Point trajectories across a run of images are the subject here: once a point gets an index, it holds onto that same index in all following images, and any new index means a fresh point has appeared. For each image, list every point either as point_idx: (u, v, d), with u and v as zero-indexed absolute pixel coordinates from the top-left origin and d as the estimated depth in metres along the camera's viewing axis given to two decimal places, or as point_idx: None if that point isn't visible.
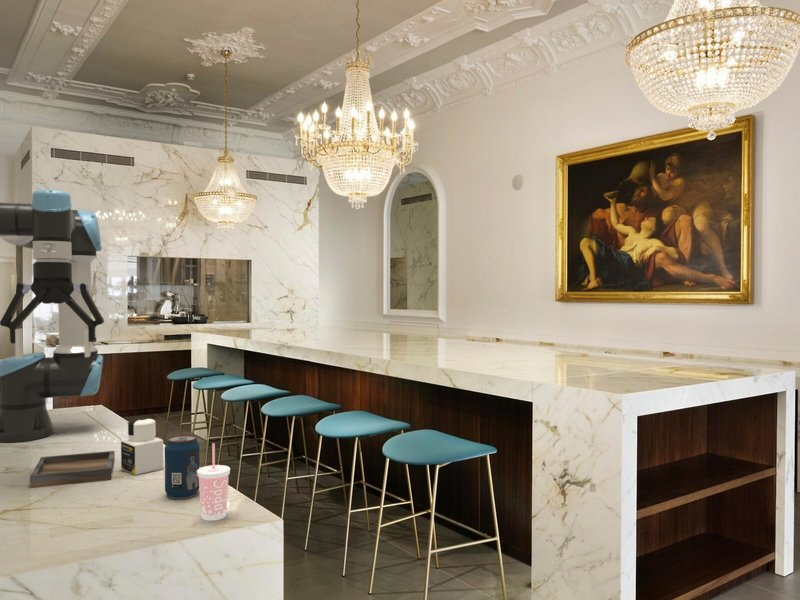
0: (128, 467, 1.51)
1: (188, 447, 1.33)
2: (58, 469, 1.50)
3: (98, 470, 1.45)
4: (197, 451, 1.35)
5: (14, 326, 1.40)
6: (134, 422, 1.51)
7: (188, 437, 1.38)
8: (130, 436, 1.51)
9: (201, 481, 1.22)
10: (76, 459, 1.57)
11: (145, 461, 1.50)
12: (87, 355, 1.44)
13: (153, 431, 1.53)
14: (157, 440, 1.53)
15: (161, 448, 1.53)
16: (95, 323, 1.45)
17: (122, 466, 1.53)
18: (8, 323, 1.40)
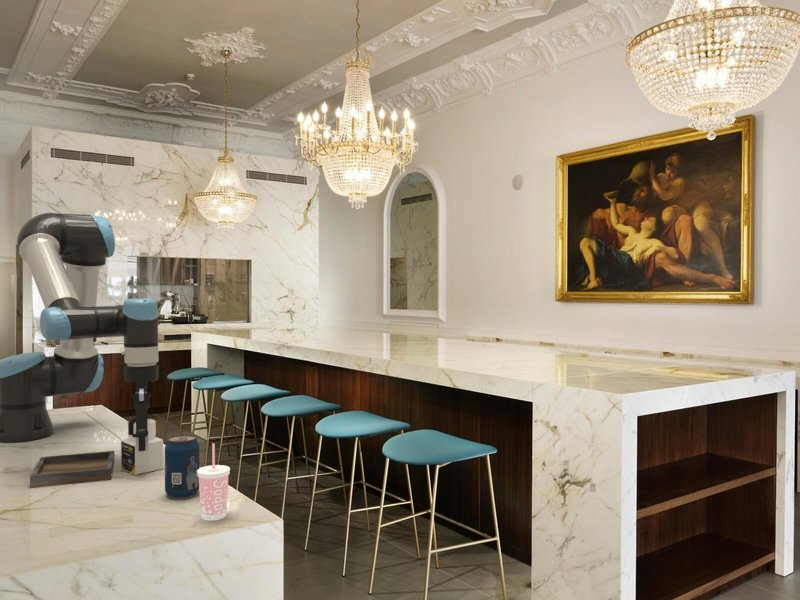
0: (128, 467, 1.51)
1: (188, 447, 1.33)
2: (58, 469, 1.50)
3: (98, 470, 1.45)
4: (197, 451, 1.35)
5: None
6: (134, 422, 1.51)
7: (188, 437, 1.38)
8: (130, 436, 1.51)
9: (201, 481, 1.22)
10: (76, 459, 1.57)
11: None
12: (136, 463, 1.48)
13: (153, 431, 1.53)
14: (157, 440, 1.53)
15: (161, 448, 1.53)
16: None
17: (122, 466, 1.53)
18: None
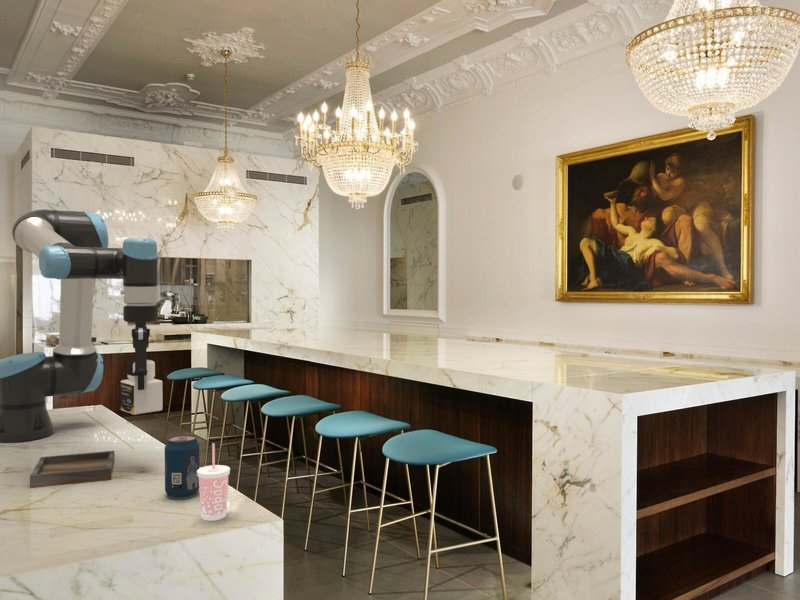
0: (127, 407, 1.50)
1: (188, 447, 1.33)
2: (58, 469, 1.50)
3: (98, 470, 1.45)
4: (197, 451, 1.35)
5: None
6: (133, 362, 1.51)
7: (188, 437, 1.38)
8: (129, 376, 1.51)
9: (201, 481, 1.22)
10: (76, 459, 1.57)
11: None
12: (135, 402, 1.48)
13: (152, 372, 1.52)
14: (156, 381, 1.52)
15: (160, 389, 1.53)
16: None
17: (121, 406, 1.53)
18: None
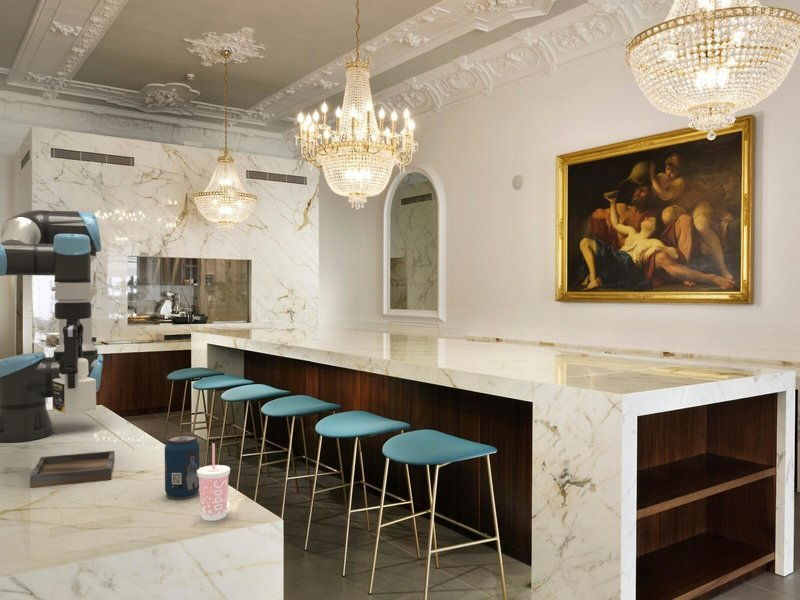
0: (58, 406, 1.47)
1: (188, 447, 1.33)
2: (58, 469, 1.50)
3: (98, 470, 1.45)
4: (197, 451, 1.35)
5: None
6: None
7: (188, 437, 1.38)
8: (61, 374, 1.47)
9: (201, 481, 1.22)
10: (76, 459, 1.57)
11: None
12: (65, 401, 1.44)
13: (85, 370, 1.49)
14: (89, 379, 1.49)
15: (93, 388, 1.49)
16: (67, 371, 1.43)
17: (53, 406, 1.49)
18: None
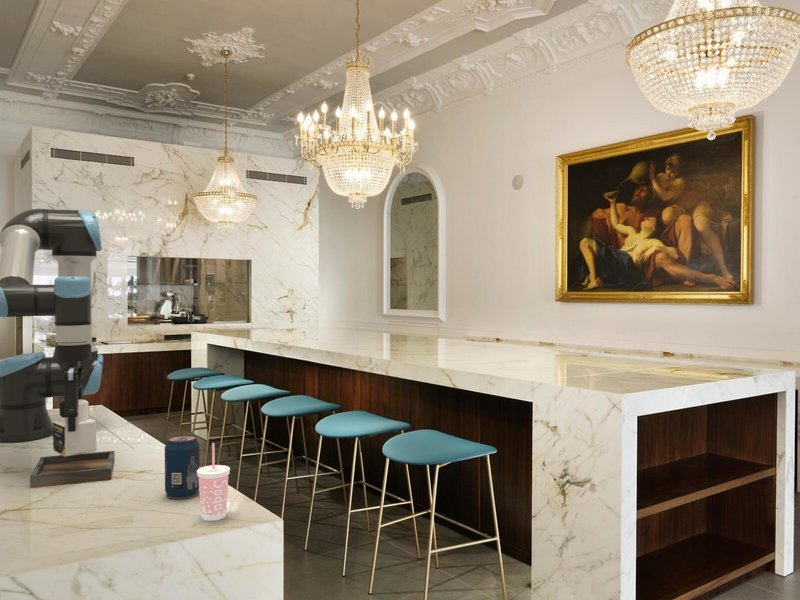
0: (59, 448, 1.47)
1: (188, 447, 1.33)
2: (58, 469, 1.50)
3: (98, 470, 1.45)
4: (197, 451, 1.35)
5: None
6: None
7: (188, 437, 1.38)
8: (61, 417, 1.47)
9: (201, 481, 1.22)
10: (76, 459, 1.57)
11: None
12: (65, 444, 1.45)
13: (85, 412, 1.49)
14: (89, 421, 1.49)
15: (94, 429, 1.50)
16: None
17: (54, 447, 1.49)
18: None
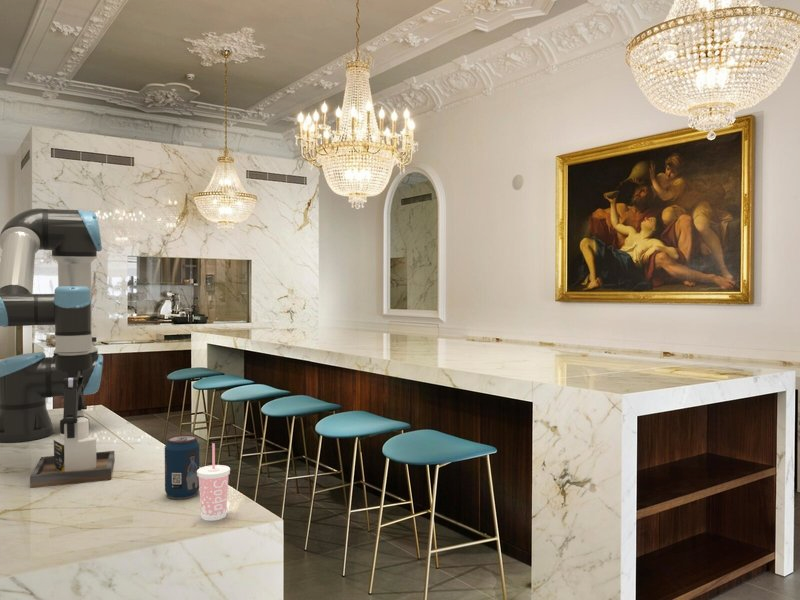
0: (59, 466, 1.47)
1: (188, 447, 1.33)
2: None
3: (98, 470, 1.45)
4: (197, 451, 1.35)
5: None
6: None
7: (188, 437, 1.38)
8: (61, 434, 1.48)
9: (201, 481, 1.21)
10: None
11: (76, 460, 1.47)
12: None
13: (85, 430, 1.49)
14: (89, 439, 1.49)
15: (94, 447, 1.50)
16: None
17: (54, 465, 1.50)
18: None
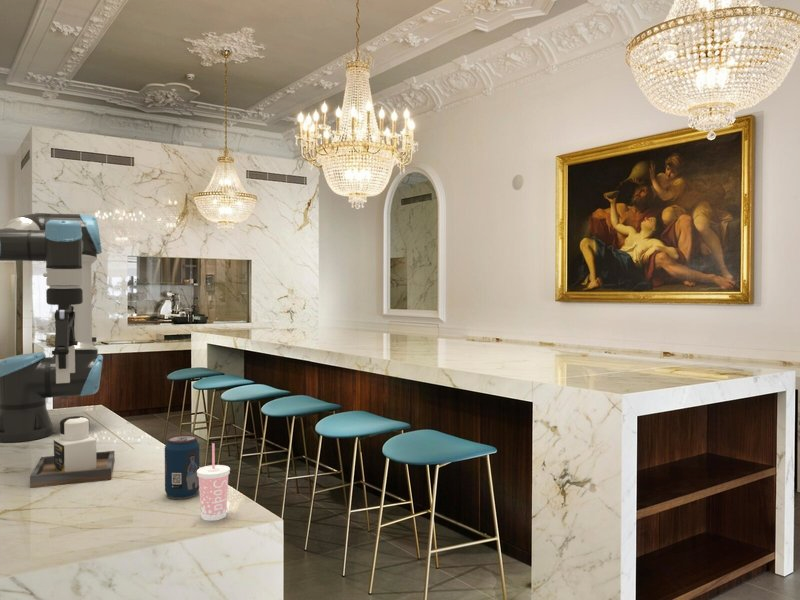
0: (59, 466, 1.47)
1: (188, 447, 1.33)
2: None
3: (98, 470, 1.45)
4: (197, 451, 1.35)
5: None
6: (65, 421, 1.48)
7: (188, 437, 1.38)
8: (61, 435, 1.48)
9: (201, 481, 1.22)
10: None
11: (76, 461, 1.47)
12: (56, 381, 1.45)
13: (85, 430, 1.49)
14: (89, 439, 1.49)
15: (94, 447, 1.50)
16: None
17: (54, 465, 1.50)
18: None
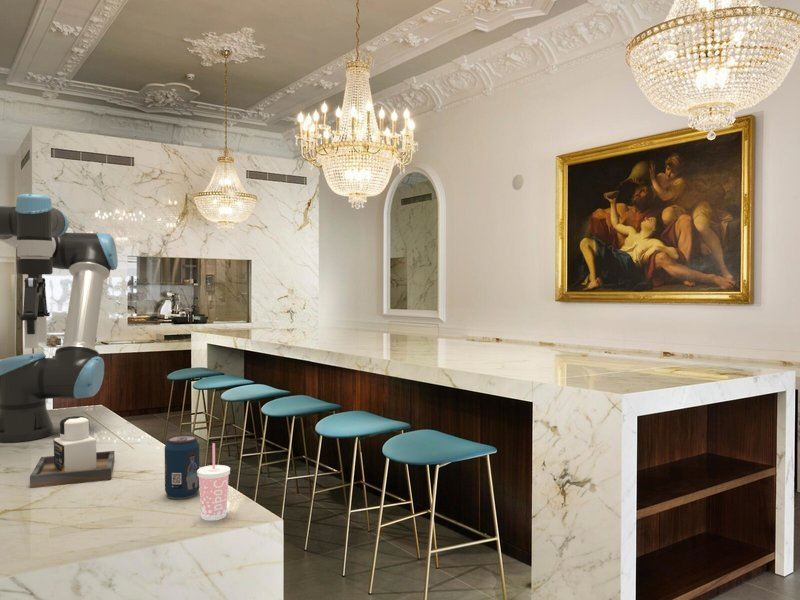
0: (59, 466, 1.47)
1: (188, 447, 1.33)
2: None
3: (98, 470, 1.45)
4: (197, 451, 1.35)
5: None
6: (65, 421, 1.48)
7: (188, 437, 1.38)
8: (61, 435, 1.48)
9: (201, 481, 1.22)
10: None
11: (76, 461, 1.47)
12: (25, 346, 1.52)
13: (85, 430, 1.49)
14: (89, 439, 1.49)
15: (94, 447, 1.50)
16: None
17: (54, 465, 1.50)
18: None
